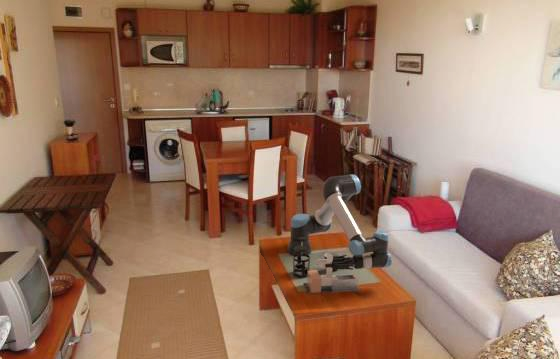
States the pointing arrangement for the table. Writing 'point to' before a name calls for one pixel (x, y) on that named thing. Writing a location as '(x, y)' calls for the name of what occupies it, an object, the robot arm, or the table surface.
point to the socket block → (314, 281)
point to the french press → (301, 263)
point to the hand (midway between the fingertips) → (317, 263)
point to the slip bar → (328, 273)
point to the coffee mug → (333, 255)
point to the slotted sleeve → (339, 285)
